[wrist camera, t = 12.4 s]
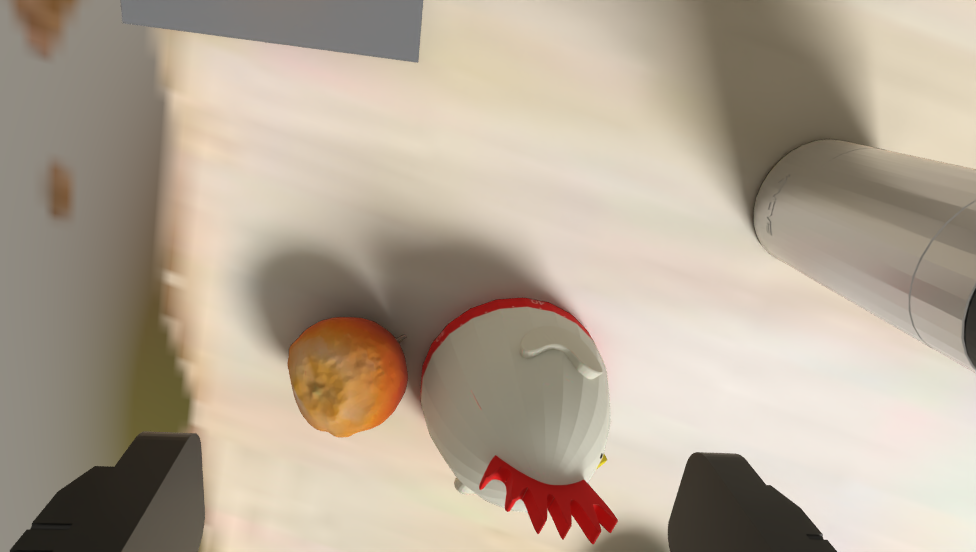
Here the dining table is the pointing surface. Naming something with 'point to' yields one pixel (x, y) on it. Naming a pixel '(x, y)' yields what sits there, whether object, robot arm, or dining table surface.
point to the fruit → (347, 374)
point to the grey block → (294, 22)
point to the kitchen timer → (521, 411)
